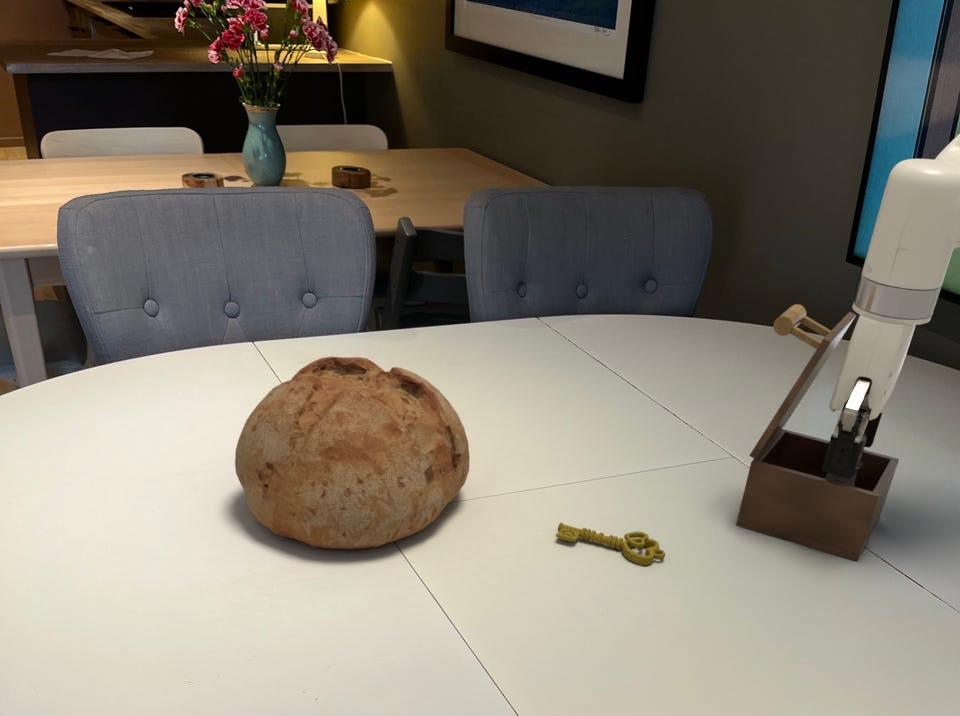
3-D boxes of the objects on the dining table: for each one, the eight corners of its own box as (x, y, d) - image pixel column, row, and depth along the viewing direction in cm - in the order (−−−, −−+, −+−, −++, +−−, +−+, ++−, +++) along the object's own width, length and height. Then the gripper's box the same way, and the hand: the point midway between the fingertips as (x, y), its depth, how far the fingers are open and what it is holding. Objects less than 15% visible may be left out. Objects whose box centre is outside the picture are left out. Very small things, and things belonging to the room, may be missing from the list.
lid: (856, 315, 106) (806, 286, 107) (830, 342, 97) (776, 310, 98) (784, 426, 115) (738, 398, 116) (755, 459, 107) (706, 429, 108)
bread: (386, 582, 96) (388, 438, 88) (191, 522, 104) (176, 384, 95) (496, 481, 117) (506, 356, 108) (326, 436, 124) (324, 316, 115)
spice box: (878, 520, 115) (899, 458, 110) (857, 561, 106) (878, 496, 102) (764, 488, 120) (780, 428, 115) (735, 525, 111) (751, 461, 107)
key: (552, 530, 105) (567, 511, 108) (550, 541, 105) (565, 521, 109) (660, 560, 101) (672, 539, 105) (658, 570, 102) (670, 549, 106)
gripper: (874, 273, 105) (831, 425, 115) (837, 310, 93) (792, 477, 103) (947, 287, 103) (897, 441, 112) (919, 327, 90) (865, 497, 100)
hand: (847, 458), depth 108 cm, fingers open, 9 cm apart
